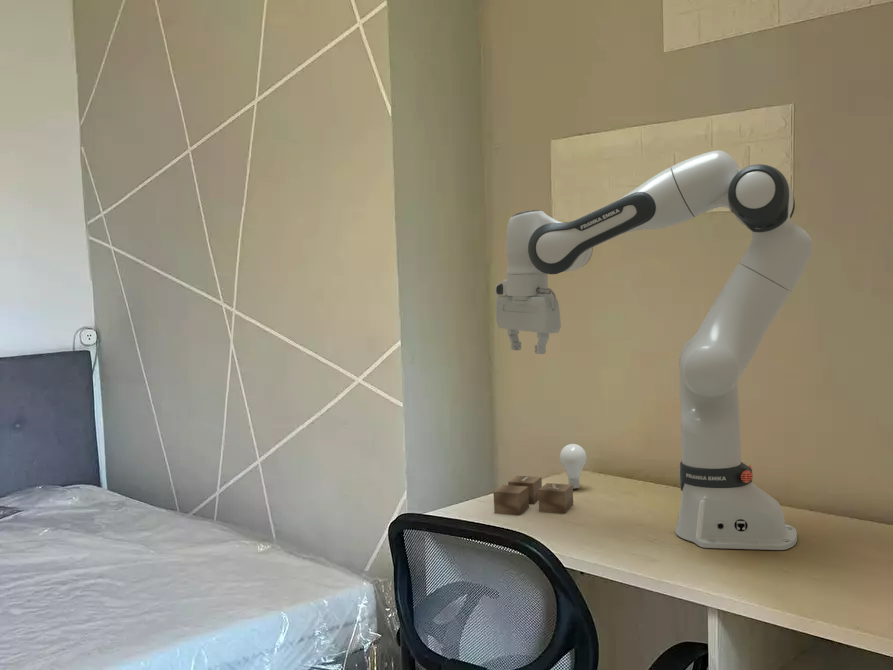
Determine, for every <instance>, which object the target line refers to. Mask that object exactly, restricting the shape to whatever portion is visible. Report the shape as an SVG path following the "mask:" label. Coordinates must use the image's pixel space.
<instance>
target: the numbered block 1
mask: <svg viewBox="0 0 893 670" xmlns="http://www.w3.org/2000/svg"><path fill="white" fill-rule="evenodd" d="M542 481H543V479H542V476H531V475H530V476H529V475H515V477H513V478H511V479H510V480H509V481H508V482H507V483H508V484H507V485H511V486H526V487H528V489H529V505H535V504H536V503H537V501H538V502H539V493H538V490H539V489H540V488H541V487H543V485H542V484H543V482H542Z"/></svg>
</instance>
